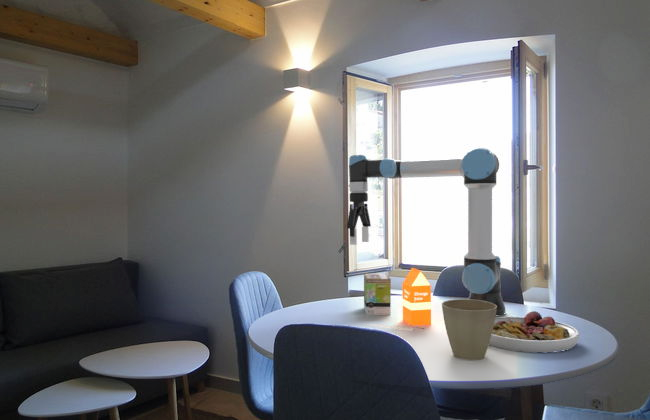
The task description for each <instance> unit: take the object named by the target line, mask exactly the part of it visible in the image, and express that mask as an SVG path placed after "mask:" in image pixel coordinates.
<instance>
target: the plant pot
mask: <svg viewBox="0 0 650 420" xmlns="http://www.w3.org/2000/svg"><path fill="white" fill-rule="evenodd" d="M441 309H442V314H443V315H442V316H443V321H444V325H445V330H446V336H447V338H448V342H449V345H450V347H451V350H452V351H451V352H452V353H453V356H454V357H455V358H457V359H461V360H466V361H480V360H483V359H484V358H485V356H486V354H487V351H488V348H489V346H490V345H489V342H490V339H491V335H492V331H493V327H494V322H495V318H496V317H497V316H496V310H497V306H496V305H495V304H493V303H490V302H487V301H481V300H472V299H469V298H467V299H466V298H465V299H464V298H462V299H461V298H460V299H448V300H444V301H443V302H441Z"/></svg>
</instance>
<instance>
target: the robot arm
mask: <svg viewBox="0 0 650 420" xmlns="http://www.w3.org/2000/svg"><path fill="white" fill-rule="evenodd" d="M499 168H500V160H499V158H498V157H497V155H496V154H495V153H494V152H492V151H491V150H489V149H487V148H485V147H477V148H473V149H470V150H468V152H466V153H465V154H464V155H462V156H461V157H442V158H441V157H440V158H423V159H404V160H401V159H400V160H396V159H395V158H389V157H388V158H376V159H375V158H374V159H368V155H365V154H353V155H350V156H349V159H348V170H349V172H348V173H349V175H348V176H349V177H348V178H349V184H348V187H349V192H350V193H349V202H350V203H351V204H349V212H348V218H347V223H346V228H347V229H349V245H350V246H351V245H352V246H354V245H355V246H357V244H358V241H357V237H358V236H357V235H358V234H357V224H358V220H359V218H360V221H361V224H362V226H361V242H362V243H369V241H370V240H369V238H370V237H369V234H370V233H369V227H371V226H372V225H371V219H370V214H369V209H368V203H366V202H368V201H369V194H368V190H369V189H368V188H369V185H368V179H371V178H373V179H374V178H383V179H384V178H386V179H390V180H391V179H402V178H403V179H404V178H409V179H410V178H437V177H463V186H465V187H466V188H467V190H468V192H467V193H468V195H467V197H468V198H467V199H468V200H467V201H468V204H467V207H468V208H467V211H468V212H467V213H468V214H467V218H468V219H467V224H468V225H467V228H468V229H467V230H468V231H467V235H468V237H467V244H468V245H467V248H468V250H467V253H466V254H465V255H464V256H463V270H462V274H461V280H462V281H461V282H462V283H463V284H462V285H463V286H464V287H465V288H466V289H467V291H469V296H468V299H472V300H481V301H487V302H490V303H493V304H495V305H496V306H497V310H496V315H502V314H504V313H505V314H506V307H505V303H504V301H503V297H502V293H501V265H502V263H501V258H500V257H499V256H497V255H495V254H494V253H493V188H494V187H495V186H497V174H498V171H499V170H500V169H499ZM505 314H504V315H505ZM502 316H503V315H502Z"/></svg>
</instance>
